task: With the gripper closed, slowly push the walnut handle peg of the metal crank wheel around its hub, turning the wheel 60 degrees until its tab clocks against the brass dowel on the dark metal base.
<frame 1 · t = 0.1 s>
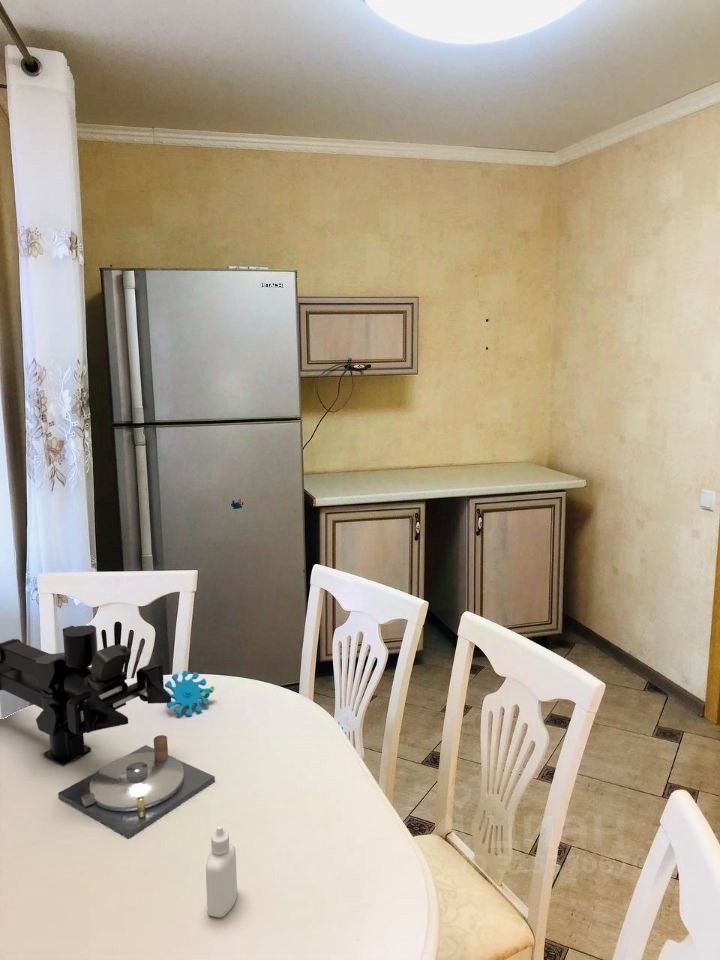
hand: (149, 709, 124), 17 cm above the table, tool horizontal, fingers open, 9 cm apart
flange base: (138, 789, 129), on the table
metal crank wheel: (133, 771, 128), point 4 cm above the table, hinge at 0.0°
gear: (190, 709, 159), on the table
eye dropper bottle: (222, 905, 102), on the table
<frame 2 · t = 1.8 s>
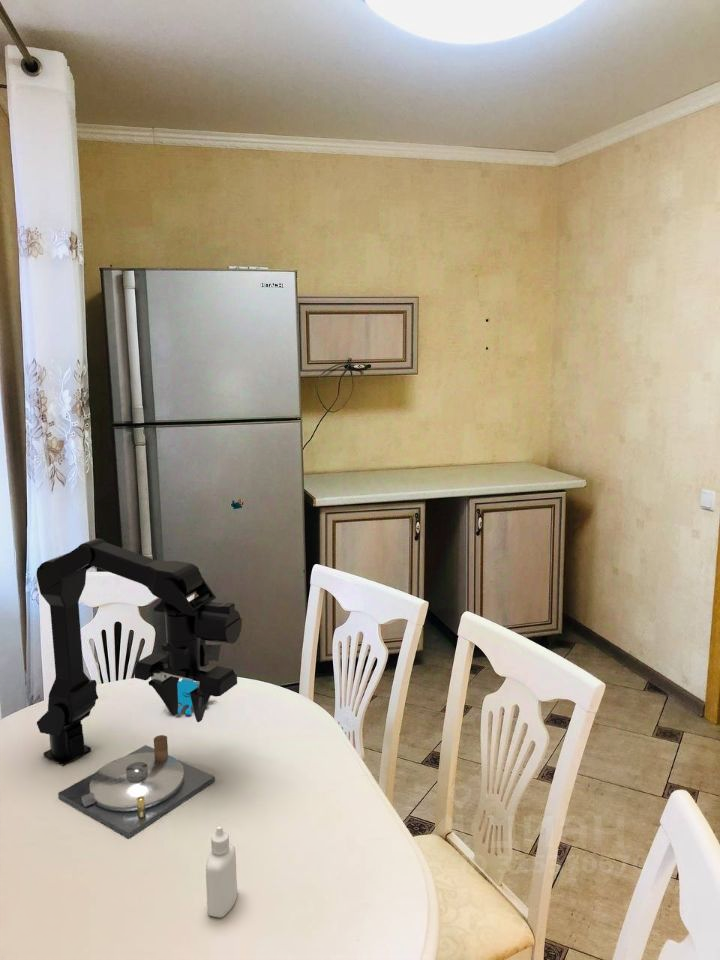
hand: (187, 718, 130), 12 cm above the table, tool pointing down, fingers open, 5 cm apart
nothing on the table moved.
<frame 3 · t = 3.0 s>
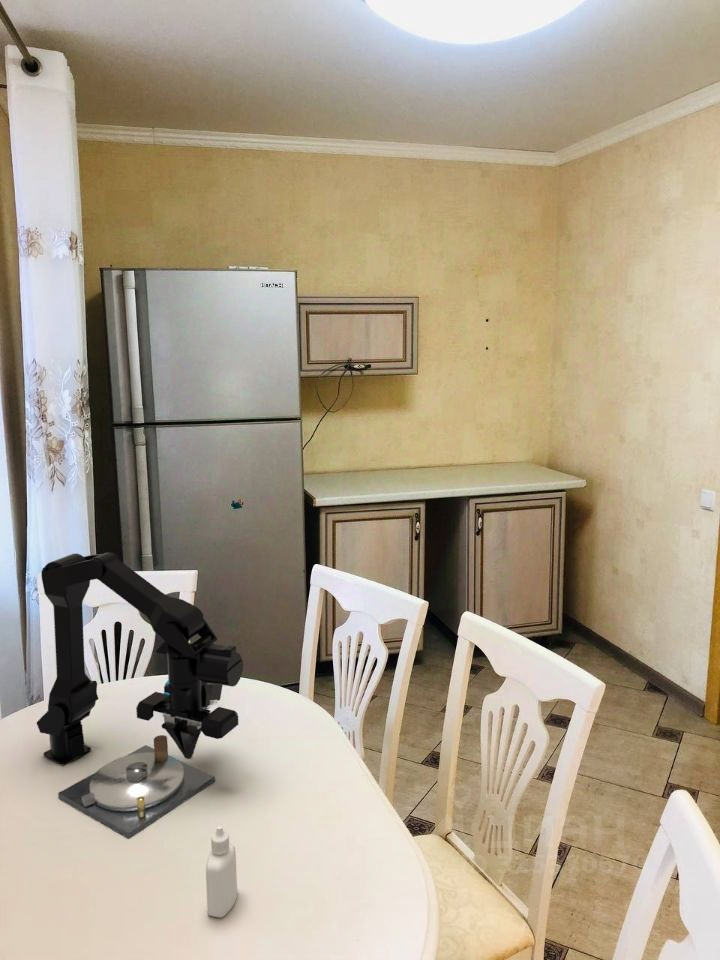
hand: (188, 757, 132), 4 cm above the table, tool pointing down, fingers closed
nothing on the table moved.
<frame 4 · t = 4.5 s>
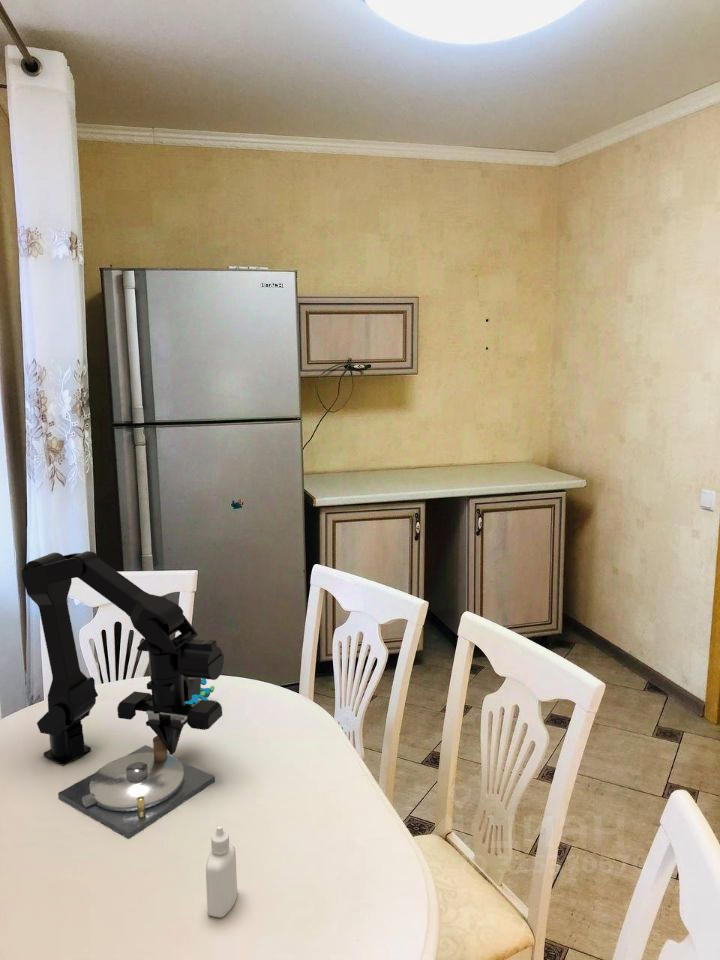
hand: (172, 752, 134), 4 cm above the table, tool pointing down, fingers closed
metal crank wheel: (133, 771, 128), point 4 cm above the table, hinge at 1.4°, touching gripper
everything else where it was.
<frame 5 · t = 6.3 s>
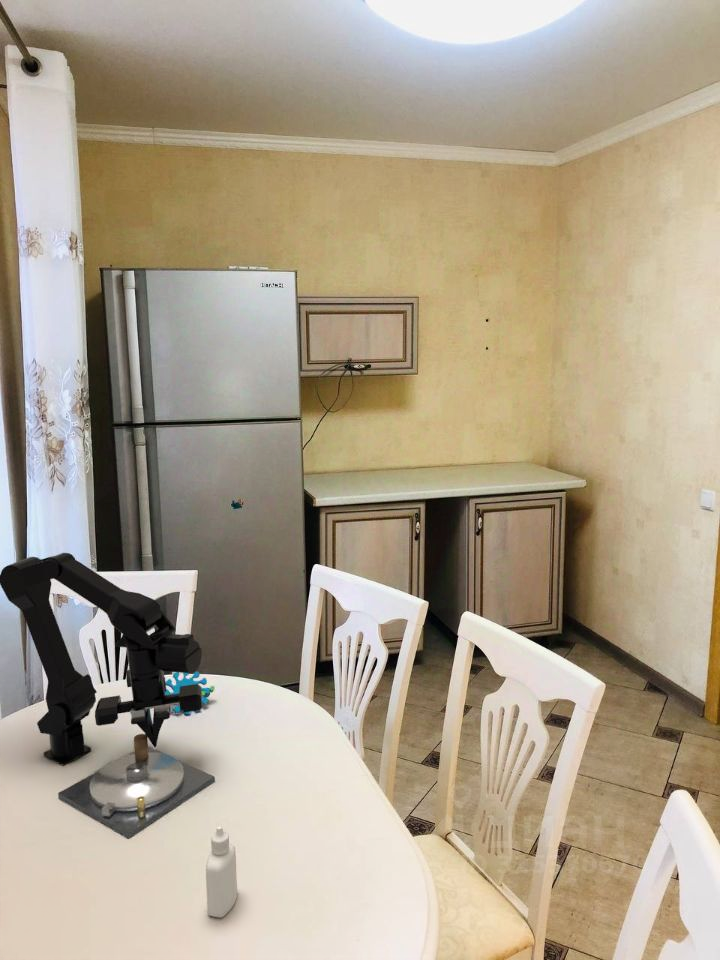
hand: (155, 746, 135), 4 cm above the table, tool pointing down, fingers closed
metal crank wheel: (135, 772, 128), point 4 cm above the table, hinge at 34.3°, touching gripper
everything else where it was.
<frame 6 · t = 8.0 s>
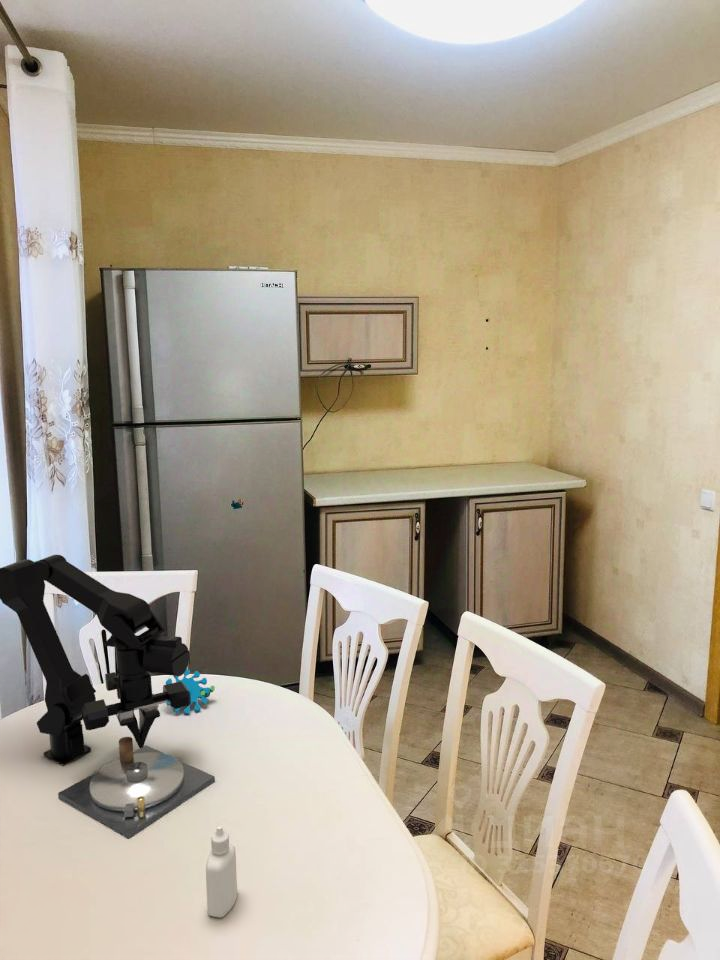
hand: (140, 747, 135), 4 cm above the table, tool pointing down, fingers closed
metal crank wheel: (137, 771, 128), point 4 cm above the table, hinge at 57.9°, touching gripper
everything else where it was.
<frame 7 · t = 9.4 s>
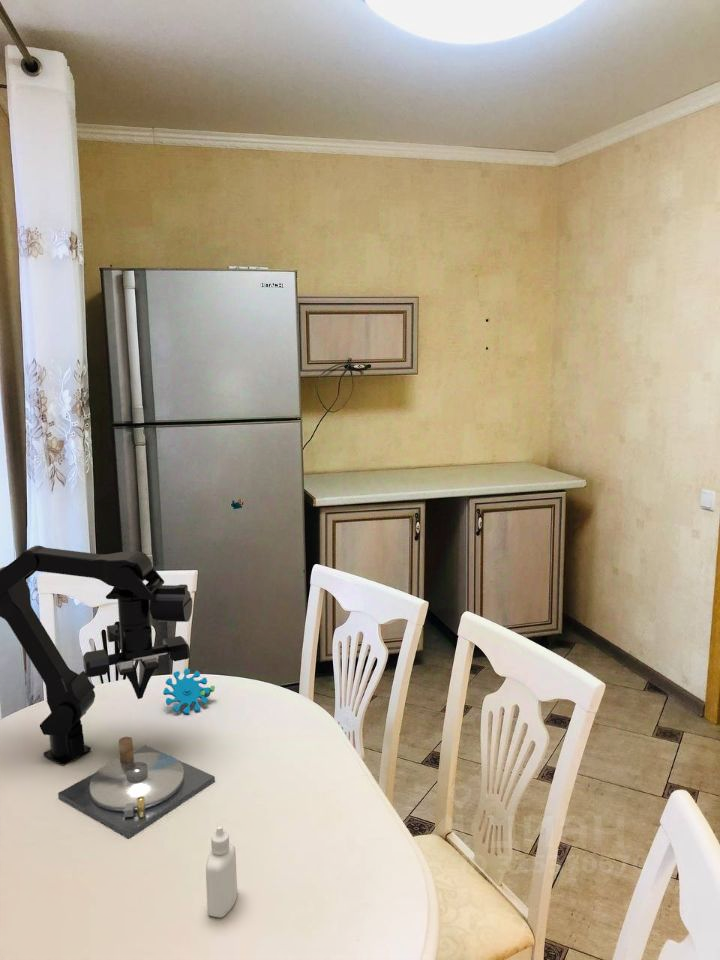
hand: (139, 697, 138), 12 cm above the table, tool pointing down, fingers closed
metal crank wheel: (137, 771, 128), point 4 cm above the table, hinge at 57.9°
everything else where it was.
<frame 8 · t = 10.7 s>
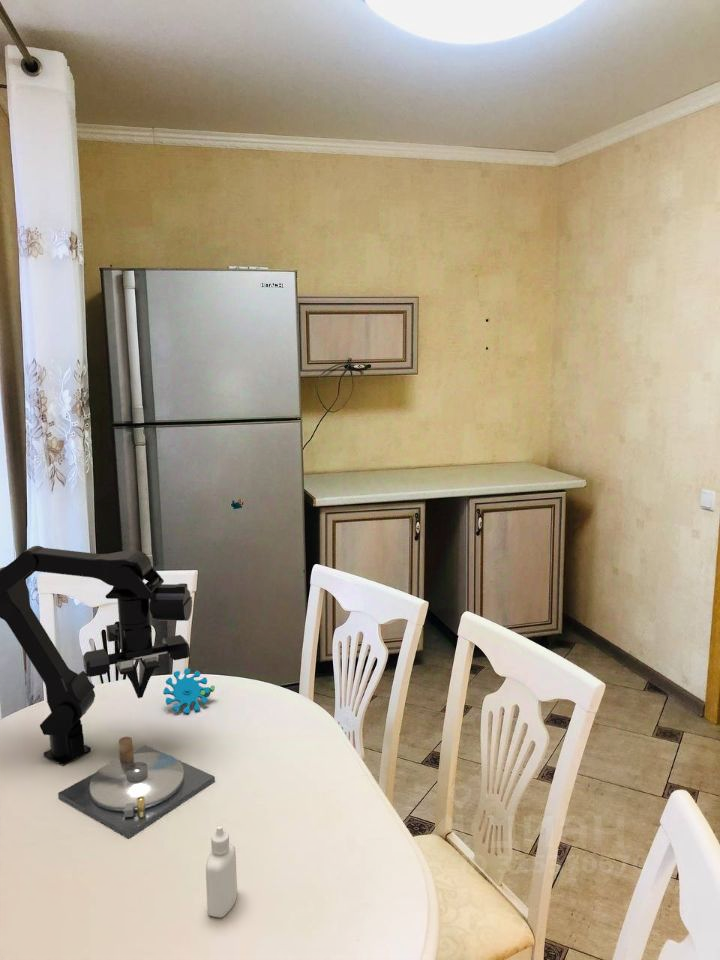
hand: (139, 697, 138), 12 cm above the table, tool pointing down, fingers closed
at the end: metal crank wheel at +58° (first picture: +0°); the gripper is holding nothing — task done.
